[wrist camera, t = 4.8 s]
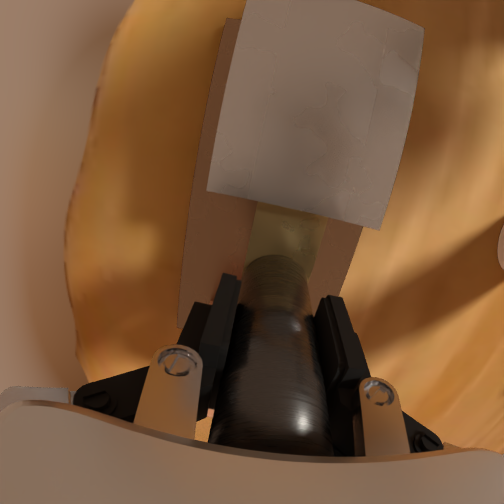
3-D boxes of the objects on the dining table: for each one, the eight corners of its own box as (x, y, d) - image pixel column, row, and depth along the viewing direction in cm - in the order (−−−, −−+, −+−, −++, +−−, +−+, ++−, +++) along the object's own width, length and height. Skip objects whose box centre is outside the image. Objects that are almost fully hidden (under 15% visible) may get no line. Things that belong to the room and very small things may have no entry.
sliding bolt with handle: (290, 51, 12) (331, -123, 1) (349, 67, 12) (514, -33, 1) (232, 320, 18) (193, 509, 7) (280, 329, 18) (278, 520, 7)
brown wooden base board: (228, 22, 16) (196, -43, 7) (397, 65, 16) (472, 36, 7) (179, 320, 25) (144, 401, 17) (313, 347, 26) (323, 434, 17)
